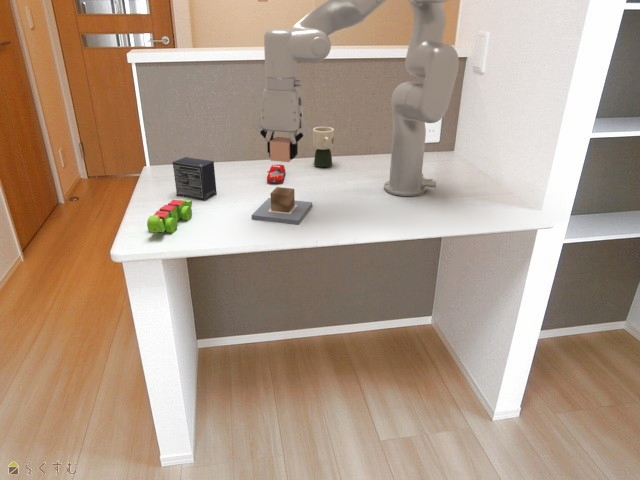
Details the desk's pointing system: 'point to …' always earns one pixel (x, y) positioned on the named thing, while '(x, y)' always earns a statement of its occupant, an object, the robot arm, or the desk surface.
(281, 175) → the race car
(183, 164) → the small box
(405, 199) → the desk surface
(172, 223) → the toy crocodile
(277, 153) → the terracotta cube
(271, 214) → the board
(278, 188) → the walnut cube
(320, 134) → the character mug
